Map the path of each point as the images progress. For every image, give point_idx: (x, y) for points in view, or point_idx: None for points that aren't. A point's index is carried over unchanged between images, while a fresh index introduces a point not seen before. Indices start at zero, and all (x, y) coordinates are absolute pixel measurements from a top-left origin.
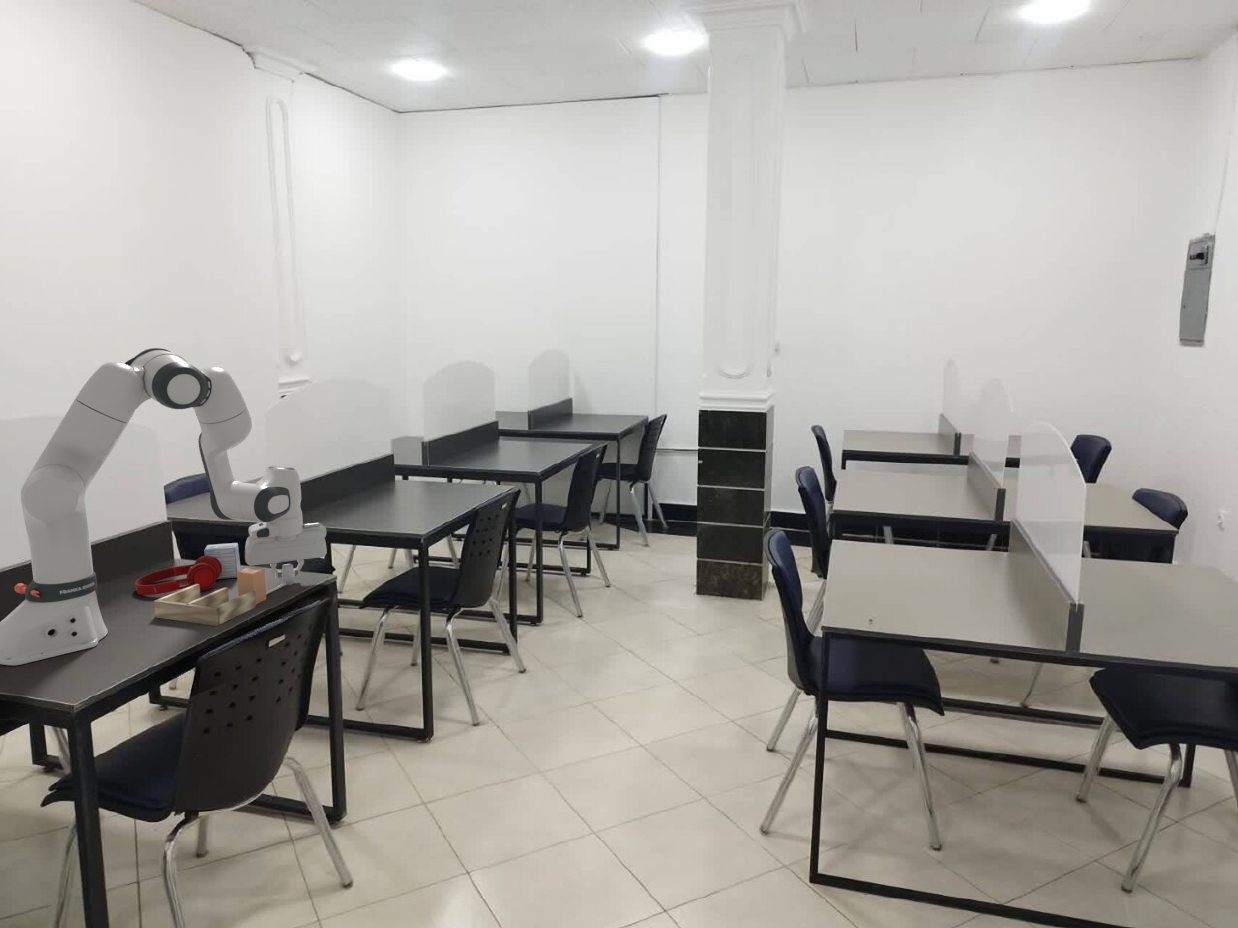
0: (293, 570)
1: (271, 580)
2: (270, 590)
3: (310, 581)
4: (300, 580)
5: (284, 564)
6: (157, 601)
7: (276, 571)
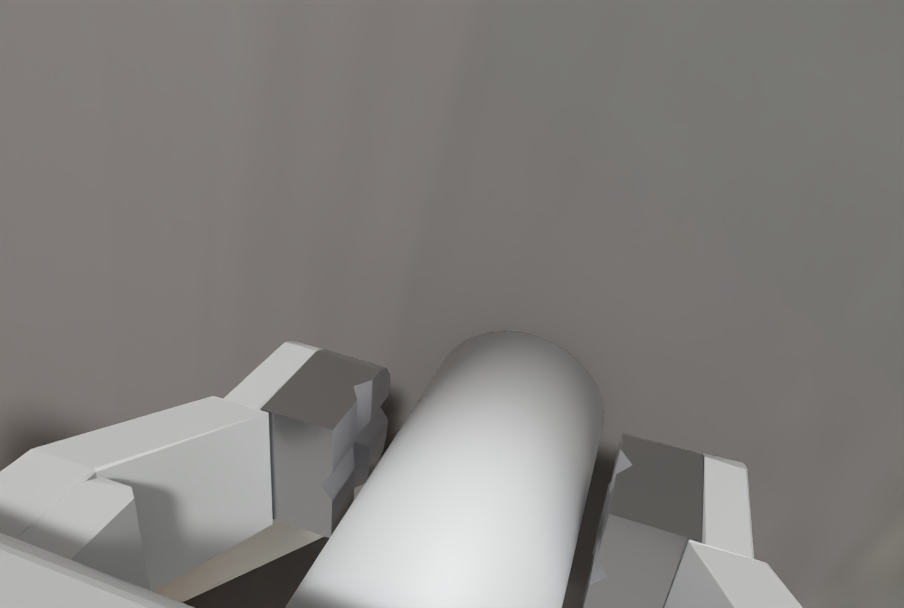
0: (608, 507)
1: (323, 62)
2: (230, 579)
3: (863, 541)
4: (752, 390)
5: (355, 578)
6: None
7: (229, 529)
